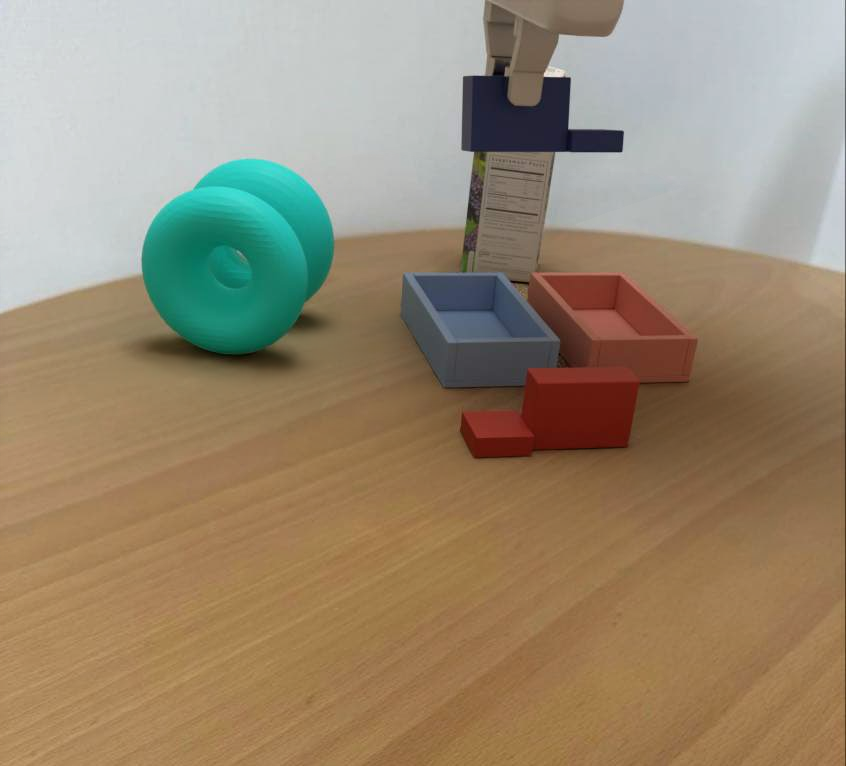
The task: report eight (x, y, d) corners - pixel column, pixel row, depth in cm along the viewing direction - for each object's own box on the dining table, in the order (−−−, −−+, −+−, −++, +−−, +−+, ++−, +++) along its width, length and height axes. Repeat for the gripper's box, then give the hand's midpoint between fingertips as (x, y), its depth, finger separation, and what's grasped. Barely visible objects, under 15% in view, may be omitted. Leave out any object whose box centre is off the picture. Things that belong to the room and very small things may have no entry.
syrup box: (467, 253, 91) (486, 57, 84) (541, 262, 91) (567, 66, 83) (459, 276, 86) (479, 70, 79) (538, 285, 86) (565, 79, 78)
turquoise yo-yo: (138, 349, 70) (129, 183, 65) (192, 295, 78) (188, 145, 73) (298, 372, 69) (302, 205, 64) (335, 315, 78) (341, 163, 72)
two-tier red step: (474, 457, 61) (482, 388, 59) (459, 430, 64) (466, 363, 62) (632, 452, 63) (645, 385, 61) (611, 426, 66) (623, 361, 64)
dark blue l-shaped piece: (601, 150, 69) (606, 79, 68) (623, 152, 67) (628, 77, 65) (458, 150, 67) (459, 76, 66) (473, 152, 64) (476, 75, 63)
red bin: (617, 311, 82) (624, 271, 81) (689, 381, 72) (698, 338, 71) (525, 312, 81) (530, 272, 79) (585, 384, 71) (592, 340, 69)
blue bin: (497, 312, 80) (502, 272, 79) (554, 385, 70) (561, 340, 69) (400, 313, 79) (402, 272, 77) (443, 388, 69) (447, 342, 67)
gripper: (689, -181, 51) (631, 143, 58) (541, -186, 67) (510, 65, 75) (554, -196, 49) (512, 138, 56) (437, -198, 66) (416, 60, 73)
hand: (510, 96), depth 66 cm, fingers closed on dark blue l-shaped piece, 2 cm apart
